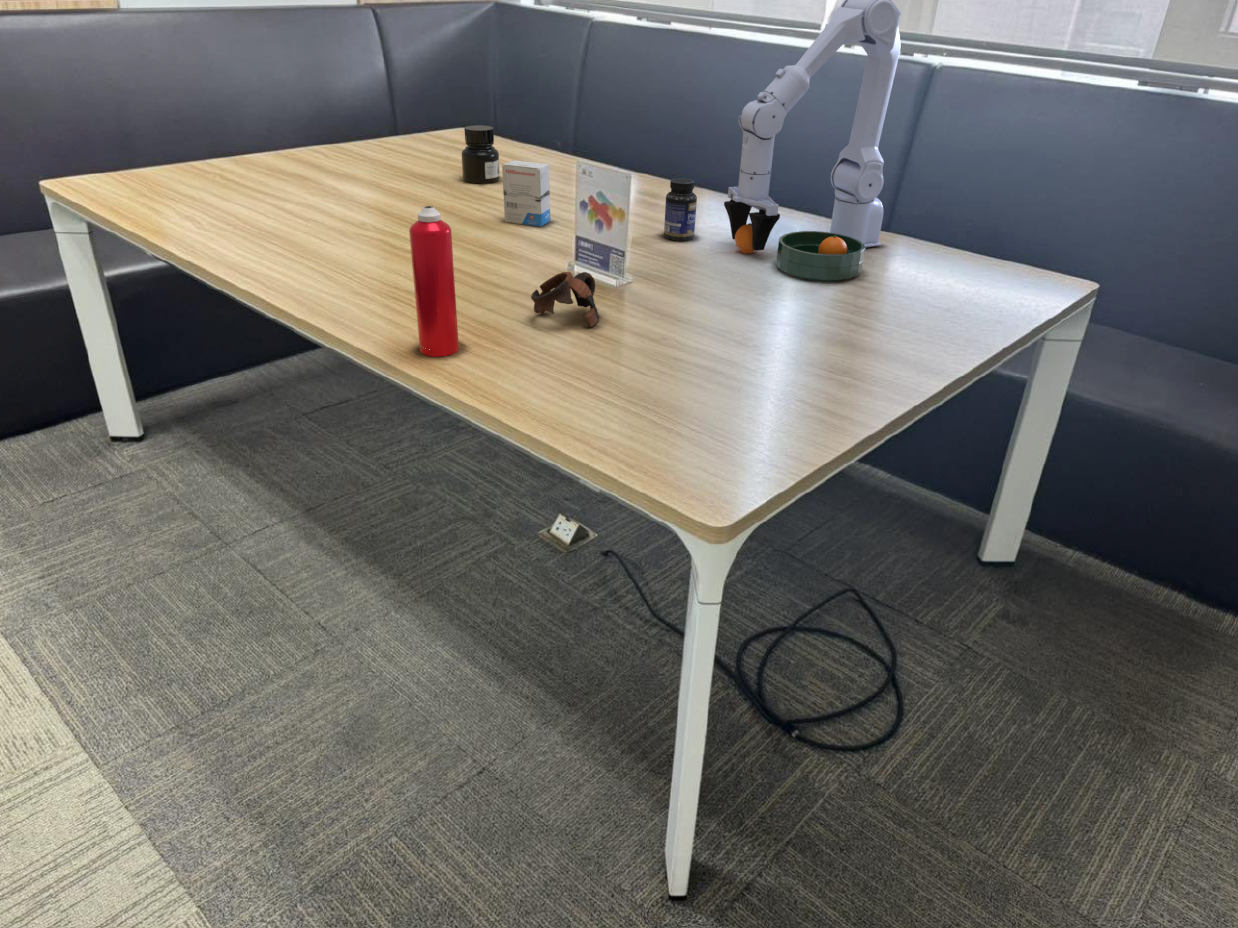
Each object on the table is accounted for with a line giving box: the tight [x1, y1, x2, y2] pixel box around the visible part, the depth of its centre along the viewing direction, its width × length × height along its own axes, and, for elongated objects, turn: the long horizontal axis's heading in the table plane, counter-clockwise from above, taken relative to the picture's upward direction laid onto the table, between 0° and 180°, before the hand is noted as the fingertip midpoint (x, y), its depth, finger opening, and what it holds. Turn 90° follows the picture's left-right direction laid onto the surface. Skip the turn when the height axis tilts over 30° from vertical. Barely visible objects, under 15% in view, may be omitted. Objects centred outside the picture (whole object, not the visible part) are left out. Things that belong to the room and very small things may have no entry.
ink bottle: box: [461, 124, 501, 184], centre depth 214 cm, size 10×9×12 cm
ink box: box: [501, 160, 551, 228], centre depth 183 cm, size 9×5×12 cm, turn 68°
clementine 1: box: [734, 222, 755, 254], centre depth 171 cm, size 5×5×6 cm
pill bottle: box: [663, 177, 698, 242], centre depth 177 cm, size 6×6×11 cm
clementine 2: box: [818, 236, 847, 255], centre depth 163 cm, size 5×5×6 cm
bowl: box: [775, 230, 866, 282], centre depth 163 cm, size 15×15×5 cm
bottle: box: [408, 205, 460, 358], centre depth 122 cm, size 5×5×20 cm
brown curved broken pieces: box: [530, 271, 600, 329], centre depth 138 cm, size 12×10×8 cm
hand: (747, 244), depth 172 cm, fingers open, 7 cm apart
